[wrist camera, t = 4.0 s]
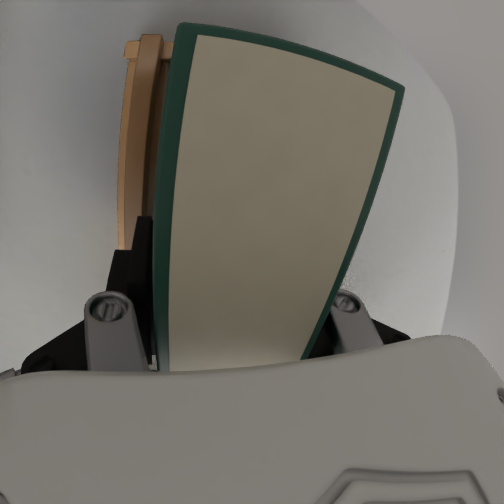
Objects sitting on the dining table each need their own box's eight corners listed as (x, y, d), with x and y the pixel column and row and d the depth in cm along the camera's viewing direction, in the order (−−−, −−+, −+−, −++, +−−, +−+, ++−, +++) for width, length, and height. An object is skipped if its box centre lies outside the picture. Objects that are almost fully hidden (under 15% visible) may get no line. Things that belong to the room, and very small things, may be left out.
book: (156, 296, 19) (168, 458, 10) (174, 67, 12) (178, 19, 3) (215, 296, 20) (257, 449, 11) (253, 77, 13) (409, 87, 4)
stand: (124, 293, 22) (118, 339, 18) (133, 47, 13) (119, 33, 9) (243, 294, 25) (259, 336, 21) (290, 68, 16) (327, 65, 12)
